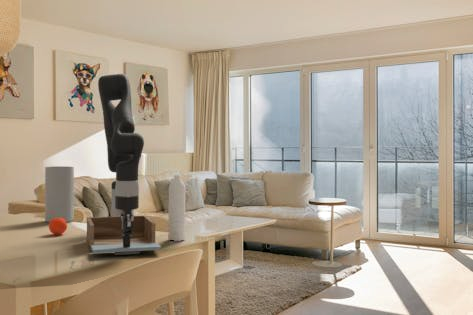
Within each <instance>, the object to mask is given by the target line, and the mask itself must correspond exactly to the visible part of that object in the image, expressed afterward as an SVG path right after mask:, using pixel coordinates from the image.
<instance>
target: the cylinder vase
mask: <svg viewBox="0 0 473 315" xmlns="http://www.w3.org/2000/svg"><path fill="white" fill-rule="evenodd" d="M44 177H45V179H44V186H45V187H44V190H45V191H44V192H45V193H44V197H45V198H44V202H45V205H44V206H45V207H44V210H45V211H44V216H45V217H44V221H45V222H46V223H48V224H49V223H50V221H51V220H52V219H53V218H56V217H60V218H63V219H64V220H65V221H66V223H70V222H74V219H75V218H74V216H75V214H74V212H75V211H74V209H75V206H74V201H75V199H74V198H75V194H74V193H75V190H74V189H75V186H74V184H75V182H74V181H75V178H74V177H75V168H74V166H62V165H61V166H45V170H44Z"/></svg>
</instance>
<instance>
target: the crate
mask: <svg viewBox="0 0 473 315" xmlns="http://www.w3.org/2000/svg"><path fill="white" fill-rule="evenodd" d="M121 230H122V228H121V219H120V216H116V217H111V216H93V217H91V216H90V217H86V243H88V244H87V245H88V246H89V247H88V249H90V250H89V252H90V253H93V252H92V249H91V245H110V244H123V235H122V231H121ZM153 242H156V222H154V220H152V219H151V218H150V217H149V216H147V215H134V220H133V228H132V235H131V236H130V244H131V243H153Z"/></svg>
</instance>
